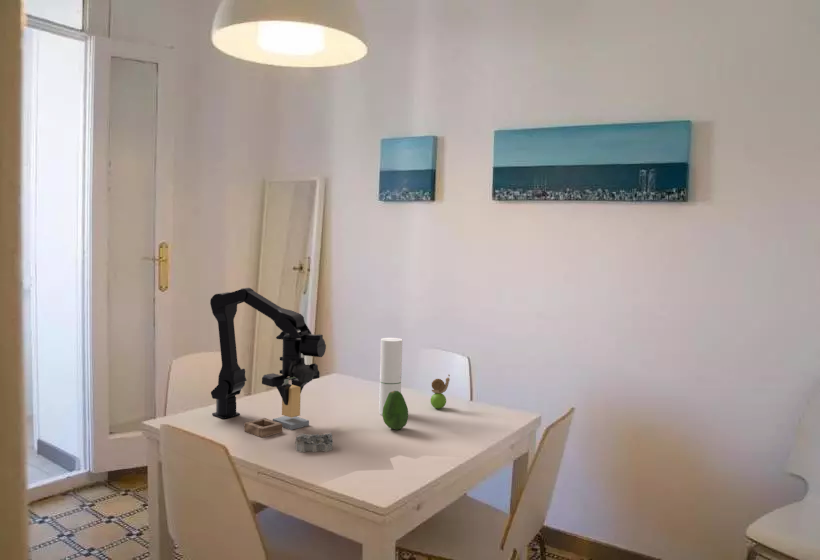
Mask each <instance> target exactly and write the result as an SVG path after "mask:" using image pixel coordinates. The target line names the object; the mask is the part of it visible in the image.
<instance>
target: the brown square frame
mask: <svg viewBox="0 0 820 560" xmlns="http://www.w3.org/2000/svg"><path fill="white" fill-rule="evenodd" d="M282 425H283V424H282V423H279V422H276V421H273V419H269V418H266V417H263V418H259V419H256V420H255V419H254V420H251V421H247V422H244V425H243V426H244V427H243V428H244V432H246V433H249V434H252V435H254V436H257V437H259V438H265V437H269V436H273V435H276V434H279V433H283V427H282Z"/></svg>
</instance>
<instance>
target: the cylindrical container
mask: <svg viewBox="0 0 820 560" xmlns="http://www.w3.org/2000/svg"><path fill="white" fill-rule="evenodd" d="M379 356H380V357H379V358H380V359H379V360H380V361H379V397H378V401H379V403H378V414H379V415H380V416H383V415H382V413H383V407H384V404H385V402H386V399H387V397H388V395H389V393H390V392H392V391H399V392H400V393H401V394H402V370H403V369H402V367H403V365H402V362H403V339H402V338H399V337H382V338H380V355H379Z"/></svg>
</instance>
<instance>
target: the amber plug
mask: <svg viewBox="0 0 820 560" xmlns="http://www.w3.org/2000/svg"><path fill="white" fill-rule="evenodd" d="M300 393H301V394H302V391H301V387H299V386H295V385H292V384H291V387H290V388H289V400H288V405H285V404H284V402H283V399H282V398H281V415H282V416H288V417H291V418H292V417H296V416H297V417H300V416H301V394H300Z"/></svg>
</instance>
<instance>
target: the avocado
mask: <svg viewBox="0 0 820 560" xmlns="http://www.w3.org/2000/svg"><path fill="white" fill-rule="evenodd" d="M381 416H382V420H383V422H384V424H385V425H386V426H387V427H388V428H389V429H392V430H397V431H398V430H401V429H403V428H404V427H405V426H406V425H407V423H408V419H409V409H408V406H407V402H406V400H405V398H404V396H403V394H402V392H401V393H400V392H399V391H392V392H390V393H389V395H388V397H387V399H386V402H385V404H384V407H383V413H382V415H381Z"/></svg>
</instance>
